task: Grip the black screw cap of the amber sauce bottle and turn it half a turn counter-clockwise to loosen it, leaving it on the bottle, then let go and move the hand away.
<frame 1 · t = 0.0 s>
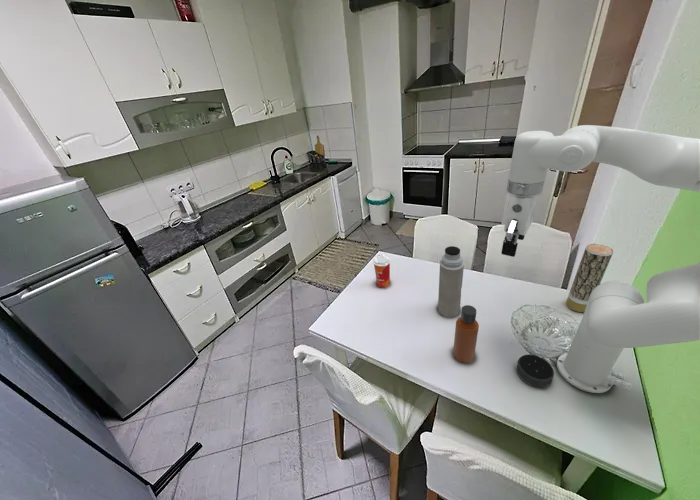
hand: (512, 246, 76), 37 cm above the table, tool pointing down, fingers open, 9 cm apart
smart speaker: (533, 374, 82), on the table
thermos bottle: (448, 310, 109), on the table
paper tube: (576, 307, 102), on the table
sauce bottle: (463, 354, 91), on the table
paper cup: (383, 284, 128), on the table
cap: (468, 310, 81), point 20 cm above the table, screwed on, not yet turned
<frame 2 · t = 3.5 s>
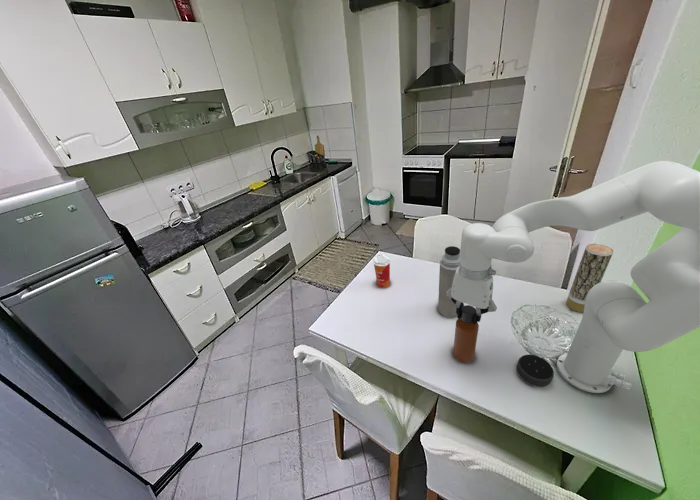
hand: (467, 318, 82), 17 cm above the table, tool pointing down, fingers closed on cap, 4 cm apart
cap: (468, 310, 81), point 20 cm above the table, screwed on, not yet turned, touching gripper
everything else where it was.
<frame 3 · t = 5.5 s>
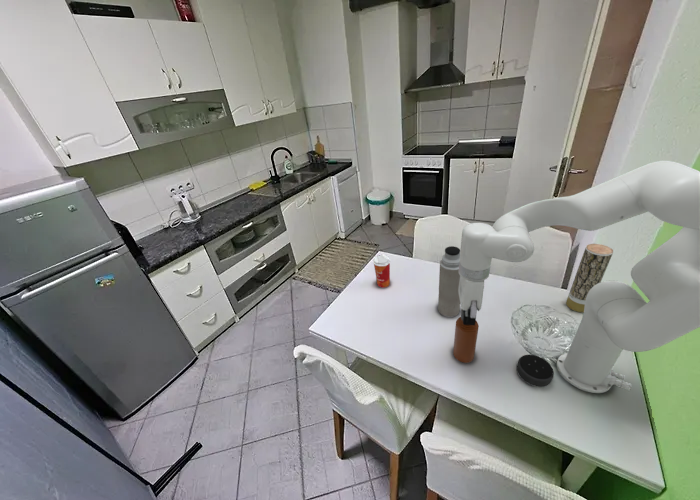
hand: (467, 317, 82), 17 cm above the table, tool pointing down, fingers closed on cap, 4 cm apart
cap: (468, 310, 81), point 20 cm above the table, turned 116° so far, risen 0.1 cm, still on its thread, touching gripper
everything else where it was.
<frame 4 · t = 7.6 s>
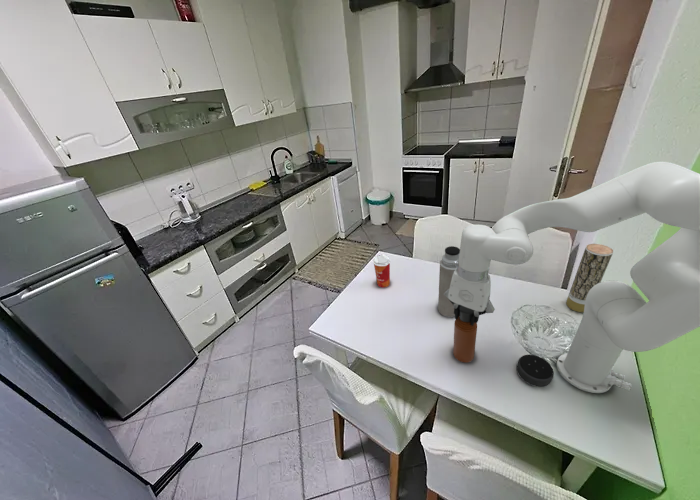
hand: (465, 318, 83), 16 cm above the table, tool pointing down, fingers closed on cap, 4 cm apart
cap: (466, 309, 81), point 20 cm above the table, turned 179° so far, risen 0.2 cm, still on its thread, touching gripper
everything else where it was.
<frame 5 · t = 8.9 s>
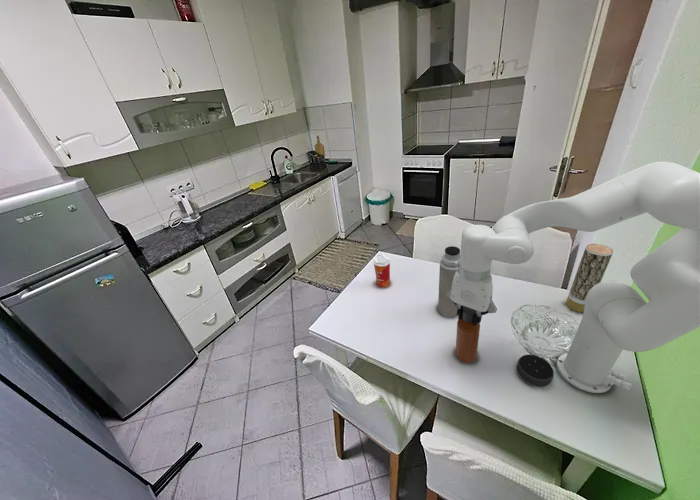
hand: (468, 319, 83), 16 cm above the table, tool pointing down, fingers closed on cap, 3 cm apart
cap: (469, 310, 81), point 20 cm above the table, turned 179° so far, risen 0.2 cm, still on its thread, touching gripper
everything else where it was.
when the fingers open (16 cm above the table, at t = 10.3 s): cap stays where it is, point 20 cm above the table.
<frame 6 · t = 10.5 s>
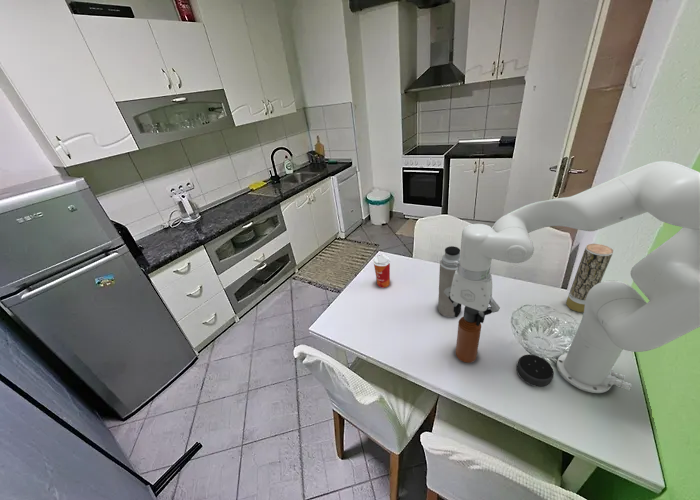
hand: (468, 318, 82), 17 cm above the table, tool pointing down, fingers open, 5 cm apart
cap: (471, 310, 81), point 20 cm above the table, turned 178° so far, risen 0.2 cm, still on its thread
everything else where it was.
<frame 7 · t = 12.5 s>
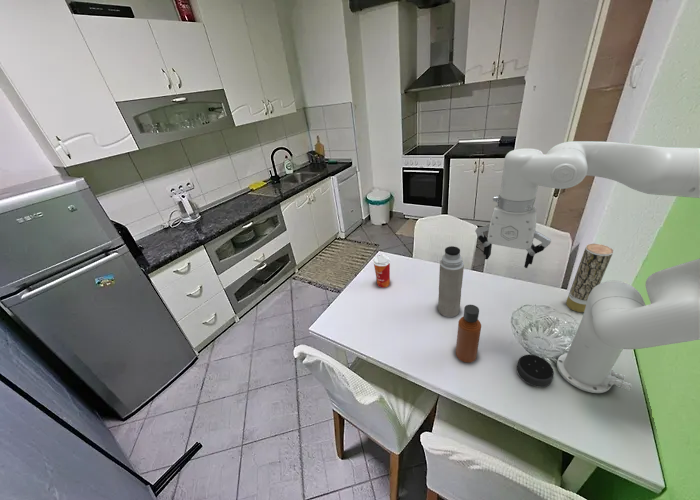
hand: (506, 261, 76), 34 cm above the table, tool pointing down, fingers open, 9 cm apart
nothing on the table moved.
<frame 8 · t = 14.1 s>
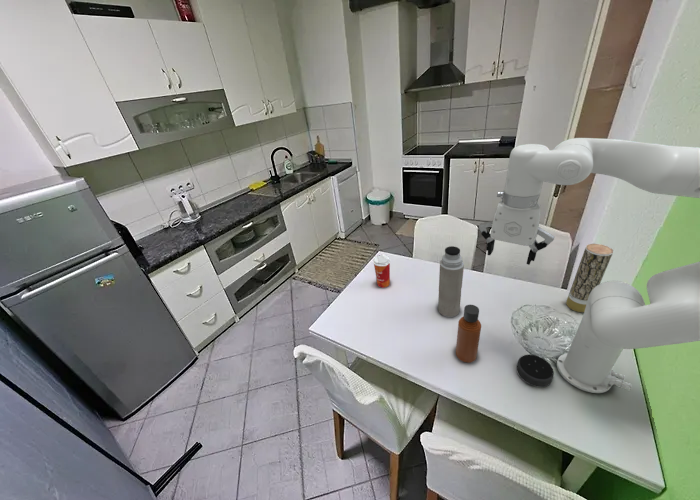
hand: (508, 257, 76), 34 cm above the table, tool pointing down, fingers open, 9 cm apart
nothing on the table moved.
at the end: cap turned 0.49 turns (still on its thread); cap is still on its thread (0.49 turns); sauce bottle tilted 0° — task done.
